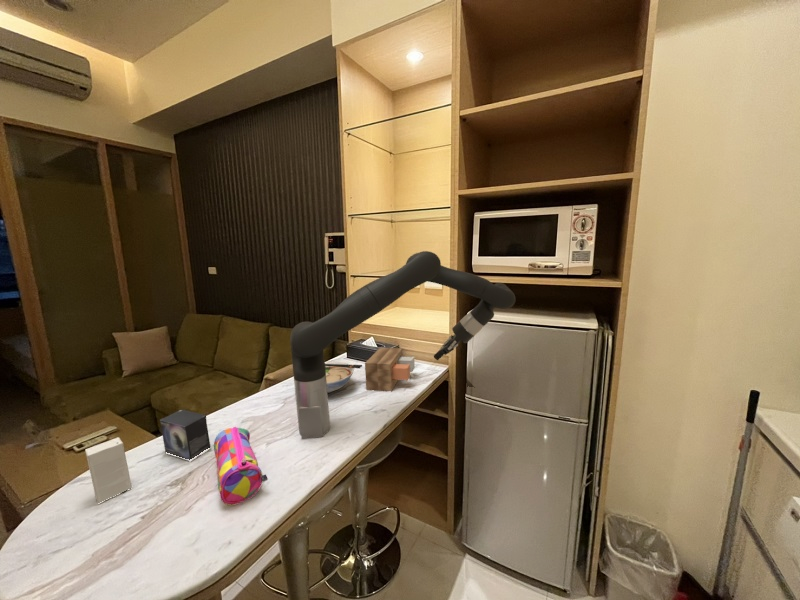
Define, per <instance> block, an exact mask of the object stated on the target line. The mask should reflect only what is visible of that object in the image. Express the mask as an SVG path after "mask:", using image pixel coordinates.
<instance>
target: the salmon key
mask: <svg viewBox="0 0 800 600" xmlns="http://www.w3.org/2000/svg"><path fill="white" fill-rule="evenodd" d="M410 377H411V372H410V364H394V365H393V367H392V379H397V380H398V381H406V382H408V381H409V379H410Z"/></svg>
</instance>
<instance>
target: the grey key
mask: <svg viewBox="0 0 800 600" xmlns="http://www.w3.org/2000/svg"><path fill="white" fill-rule="evenodd" d="M398 364H410V373H413V371H414V370H415V367H416V366H415V356H402V357H399V358H398Z"/></svg>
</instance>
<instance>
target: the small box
mask: <svg viewBox="0 0 800 600" xmlns="http://www.w3.org/2000/svg"><path fill="white" fill-rule="evenodd" d="M159 423H160V429H161V435H162V441H163V447H164V452H167V453H170V454H173V455H176V456H179V457H182V458H185V459H189V460H190V459H192V458H194V457H195V456H197V455H199V454H200V453H201V452H203V451H204V450H206V449H208V448H210V447H212V446H211V442H210V436H209V430H208V421H207V415H206V414H203V413H198V412H194V411H190V410H185V409H179V410H177V411H174V412H173V413H171V414H169V415H167V416H165V417H163V418H161V419H159Z"/></svg>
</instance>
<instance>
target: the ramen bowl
mask: <svg viewBox="0 0 800 600" xmlns="http://www.w3.org/2000/svg"><path fill="white" fill-rule="evenodd" d="M362 367H363V365H362V364H349V363H346V362H339V361H338V362H337V361H333V362H332V361H331V362H330V361H329V362H325V368H326V381H327V394H330V393H333V392H334V391H337V390H339V389H341V388H343V387H344V386H345V385H347V383H348V382H349V381H350V379H351V377H352V376H353V373H354V372H355V371H354V370H355V369H361V368H362Z"/></svg>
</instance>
